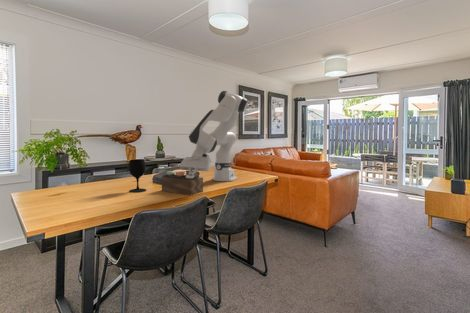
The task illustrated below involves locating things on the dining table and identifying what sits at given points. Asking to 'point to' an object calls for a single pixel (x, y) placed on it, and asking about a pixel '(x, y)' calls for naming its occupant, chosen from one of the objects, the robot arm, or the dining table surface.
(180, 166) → the robot arm
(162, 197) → the dining table surface
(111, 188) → the dining table surface
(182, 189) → the dark brown wooden box
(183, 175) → the terracotta button
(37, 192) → the dining table surface
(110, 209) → the dining table surface
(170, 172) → the sage button
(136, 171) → the wine glass
